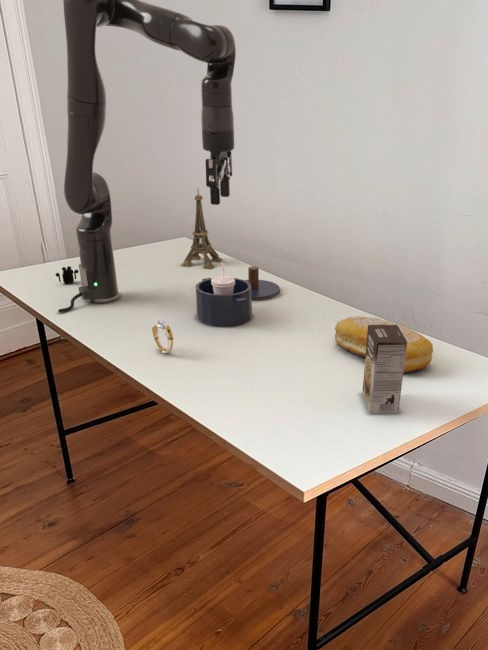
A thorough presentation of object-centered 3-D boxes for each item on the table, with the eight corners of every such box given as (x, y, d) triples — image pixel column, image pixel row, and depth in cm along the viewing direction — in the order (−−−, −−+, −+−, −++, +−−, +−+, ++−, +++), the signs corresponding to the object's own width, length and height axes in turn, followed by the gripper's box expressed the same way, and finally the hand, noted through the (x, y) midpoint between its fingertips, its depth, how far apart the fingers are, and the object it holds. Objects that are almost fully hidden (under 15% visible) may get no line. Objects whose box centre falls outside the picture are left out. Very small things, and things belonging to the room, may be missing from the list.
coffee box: (360, 394, 150) (367, 324, 141) (389, 393, 150) (397, 323, 141) (368, 414, 142) (375, 341, 133) (399, 413, 143) (408, 341, 134)
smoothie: (237, 311, 188) (236, 260, 180) (234, 319, 183) (232, 267, 175) (214, 310, 189) (212, 259, 181) (210, 318, 184) (208, 266, 176)
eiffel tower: (180, 265, 223) (175, 183, 208) (192, 256, 231) (188, 177, 217) (211, 269, 220) (207, 186, 206) (222, 259, 229) (219, 179, 214)
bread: (407, 382, 155) (411, 349, 150) (321, 347, 170) (323, 316, 166) (441, 364, 163) (446, 333, 158) (356, 332, 178) (359, 303, 174)
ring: (177, 355, 165) (174, 324, 160) (165, 359, 163) (162, 327, 159) (163, 346, 170) (160, 315, 165) (151, 349, 168) (148, 318, 163)
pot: (218, 334, 176) (217, 302, 171) (184, 310, 190) (181, 280, 185) (266, 323, 183) (266, 292, 178) (229, 300, 196) (229, 271, 192)
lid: (244, 304, 194) (243, 279, 190) (217, 288, 205) (217, 264, 201) (290, 295, 201) (290, 270, 197) (262, 280, 212) (262, 256, 208)
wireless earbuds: (79, 280, 210) (76, 263, 207) (82, 282, 208) (79, 266, 205) (56, 284, 206) (53, 267, 203) (59, 286, 205) (56, 270, 202)
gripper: (211, 122, 166) (214, 193, 176) (193, 131, 155) (197, 206, 164) (241, 124, 165) (242, 195, 174) (224, 132, 154) (227, 208, 163)
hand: (220, 200), depth 169 cm, fingers open, 8 cm apart
